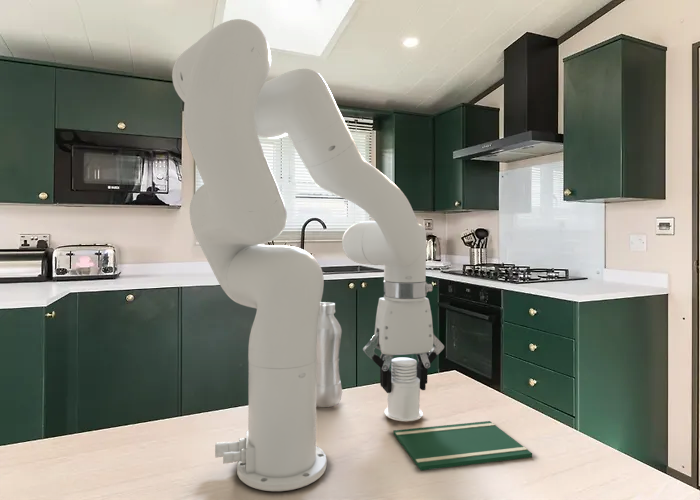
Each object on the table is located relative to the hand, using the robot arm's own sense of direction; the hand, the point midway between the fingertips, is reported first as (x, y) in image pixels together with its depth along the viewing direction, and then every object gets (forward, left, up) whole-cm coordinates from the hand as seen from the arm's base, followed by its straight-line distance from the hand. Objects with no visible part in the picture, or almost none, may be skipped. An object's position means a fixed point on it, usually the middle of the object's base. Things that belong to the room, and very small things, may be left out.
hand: (403, 388), depth 81 cm
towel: (+5, -12, -5) cm, 14 cm away
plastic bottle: (-13, +9, -6) cm, 17 cm away
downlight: (0, 0, -5) cm, 5 cm away
